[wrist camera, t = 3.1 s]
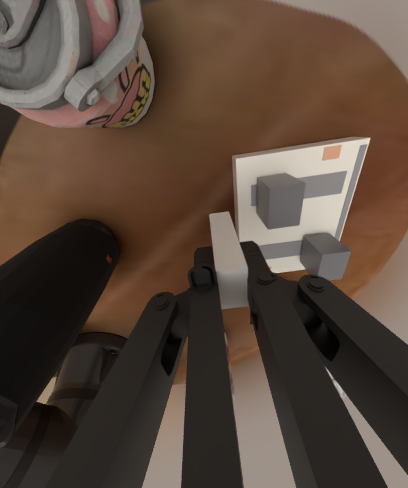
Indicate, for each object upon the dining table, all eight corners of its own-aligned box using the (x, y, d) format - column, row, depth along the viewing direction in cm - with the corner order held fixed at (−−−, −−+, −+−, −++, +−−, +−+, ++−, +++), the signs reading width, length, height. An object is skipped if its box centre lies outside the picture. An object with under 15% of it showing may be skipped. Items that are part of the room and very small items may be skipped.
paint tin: (95, -51, 13) (-257, -674, 3) (184, 65, 16) (165, -36, 6) (43, 72, 16) (-208, -19, 6) (126, 147, 20) (51, 169, 10)
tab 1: (256, 213, 21) (267, 229, 18) (256, 177, 19) (269, 188, 16) (282, 209, 21) (299, 225, 18) (286, 172, 19) (305, 182, 15)
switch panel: (237, 266, 29) (241, 278, 27) (231, 155, 20) (236, 159, 18) (321, 255, 28) (332, 266, 26) (352, 136, 20) (371, 137, 18)
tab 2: (299, 261, 25) (315, 282, 22) (304, 236, 23) (322, 254, 20) (322, 258, 25) (341, 278, 22) (328, 232, 23) (351, 251, 19)
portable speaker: (124, 220, 24) (-28, 421, 8) (124, 273, 29) (29, 467, 12) (52, 206, 23) (-322, 414, 6) (64, 264, 28) (-131, 469, 11)
